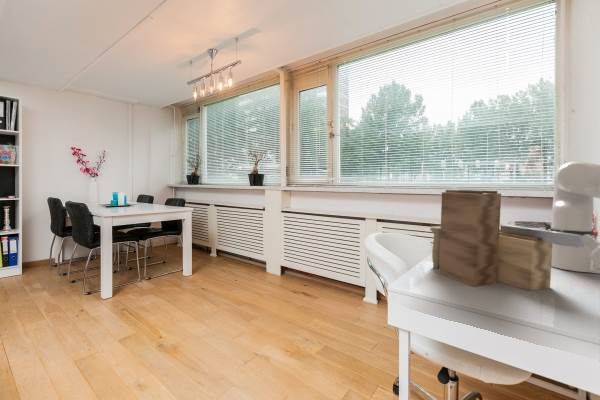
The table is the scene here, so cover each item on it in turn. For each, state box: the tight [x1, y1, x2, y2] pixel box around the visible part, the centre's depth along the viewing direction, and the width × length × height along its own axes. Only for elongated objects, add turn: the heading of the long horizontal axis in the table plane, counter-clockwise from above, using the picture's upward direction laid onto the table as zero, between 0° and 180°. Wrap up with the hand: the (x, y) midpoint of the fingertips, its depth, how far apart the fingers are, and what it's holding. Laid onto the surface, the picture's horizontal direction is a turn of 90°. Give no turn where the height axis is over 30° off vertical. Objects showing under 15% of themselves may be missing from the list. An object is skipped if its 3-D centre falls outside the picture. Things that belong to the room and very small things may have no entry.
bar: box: [500, 224, 584, 247], centre depth 85 cm, size 3×20×3 cm, turn 21°
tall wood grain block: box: [438, 189, 502, 288], centre depth 94 cm, size 10×13×29 cm
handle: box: [430, 225, 441, 270], centre depth 105 cm, size 5×6×15 cm
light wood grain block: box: [497, 228, 553, 292], centre depth 92 cm, size 9×15×15 cm, turn 20°
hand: (594, 235), depth 73 cm, fingers open, 8 cm apart
